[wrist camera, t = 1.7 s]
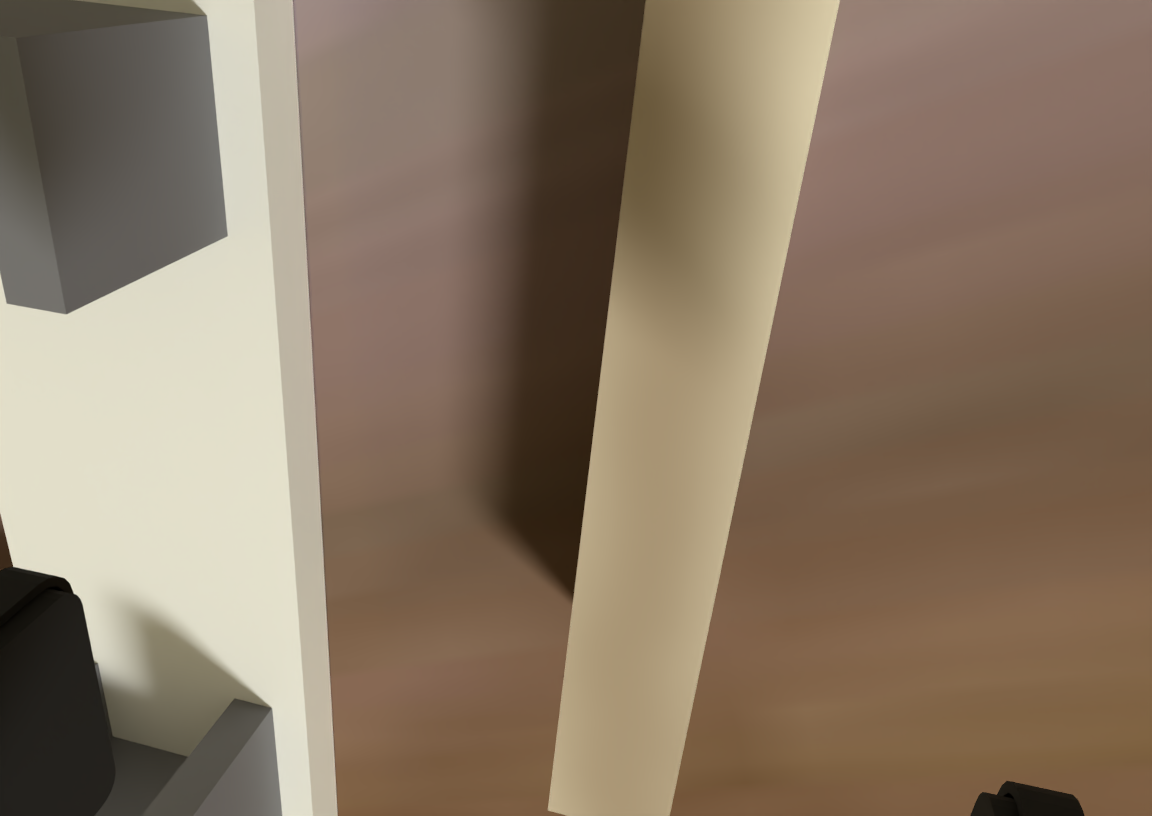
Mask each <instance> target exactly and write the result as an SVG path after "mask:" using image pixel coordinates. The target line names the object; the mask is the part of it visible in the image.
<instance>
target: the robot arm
mask: <svg viewBox="0 0 1152 816" xmlns="http://www.w3.org/2000/svg"><path fill="white" fill-rule="evenodd" d="M115 775H116V771H115V763H114V758H113V753H112V748H111V743H110V738H109V733H108V728H107V723H106V718H105V713H104V708H103V703H102V698H101V693H100V688H99V683H98V678H97V673H96V668H95V663H94V658H93V653H92V648H91V643H90V638H89V633H88V628H87V623H86V619H85V614H84V609H83V604H82V602H81V599H80V598H79V597H78V596H77V595H76V594H74V593H73V590H72V587H71V585H70V583H69V582H68V581H67V580H66V579H65V578H62V577H58V576H54V575H49V574H44V573H40V572H35V571H31V570H26V569H21V568H17V567H10V568H5V569H3V570H1V571H0V816H95V814H96V813H97V812H98V811H99V810H100V808H101V807H102V806H103V804H104V803H105V801H106V800H107V798H108V796H109V794H110V792H111V790H112V787H113V784H114V781H115ZM971 816H1084V813H1083V810H1082V808H1081V806H1080V803H1079V801H1078V800H1077V799H1076V798H1075V797H1074V796H1073V795H1071V794H1067V793H1062V792H1057V791H1053V790H1048V789H1043V788H1039V787H1034V786H1029V785H1025V784H1020V783H1015V782H1010V781H1007V782H1005V783H1004V784H1003V785H1002V786H1001V788H1000V790H999V792H998V794H997V795H994V794H990V793H985V792H982V793H981V794H980V795H979V797H978V799H977V801H976V803H975V806H974V808H973V811H972V813H971Z"/></svg>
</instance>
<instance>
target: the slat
mask: <svg viewBox="0 0 1152 816" xmlns="http://www.w3.org/2000/svg"><path fill="white" fill-rule="evenodd" d="M839 1H840V0H646V2H645V10H644V18H643V27H642V35H641V43H640V51H639V60H638V68H637V76H636V85H635V93H634V101H633V109H632V118H631V126H630V134H629V143H628V151H627V159H626V167H625V176H624V184H623V192H622V201H621V209H620V217H619V225H618V234H617V242H616V250H615V259H614V267H613V275H612V283H611V292H610V300H609V308H608V316H607V325H606V333H605V341H604V350H603V358H602V366H601V374H600V383H599V391H598V399H597V408H596V416H595V424H594V432H593V441H592V449H591V457H590V466H589V474H588V482H587V490H586V499H585V507H584V515H583V523H582V532H581V540H580V548H579V557H578V565H577V573H576V581H575V590H574V598H573V606H572V615H571V623H570V631H569V639H568V648H567V656H566V664H565V673H564V681H563V689H562V697H561V706H560V714H559V722H558V730H557V739H556V747H555V755H554V764H553V772H552V780H551V788H550V797H549V805H548V810H549V811H553V812H556V813H560V814H563V815H567V816H670V811H671V806H672V801H673V797H674V792H675V787H676V782H677V777H678V773H679V768H680V763H681V758H682V753H683V749H684V744H685V739H686V734H687V729H688V725H689V720H690V715H691V710H692V706H693V701H694V696H695V691H696V686H697V682H698V677H699V672H700V667H701V662H702V658H703V653H704V648H705V643H706V638H707V634H708V629H709V624H710V619H711V614H712V610H713V605H714V600H715V595H716V591H717V586H718V581H719V576H720V571H721V567H722V562H723V557H724V552H725V547H726V543H727V538H728V533H729V528H730V523H731V519H732V514H733V509H734V504H735V500H736V495H737V490H738V485H739V480H740V476H741V471H742V466H743V461H744V456H745V452H746V447H747V442H748V437H749V432H750V428H751V423H752V418H753V413H754V409H755V404H756V399H757V394H758V389H759V385H760V380H761V375H762V370H763V365H764V361H765V356H766V351H767V346H768V341H769V337H770V332H771V327H772V322H773V317H774V313H775V308H776V303H777V298H778V294H779V289H780V284H781V279H782V274H783V270H784V265H785V260H786V255H787V250H788V246H789V241H790V236H791V231H792V226H793V222H794V217H795V212H796V207H797V203H798V198H799V193H800V188H801V183H802V179H803V174H804V169H805V164H806V159H807V155H808V150H809V145H810V140H811V135H812V131H813V126H814V121H815V116H816V111H817V107H818V102H819V97H820V92H821V88H822V83H823V78H824V73H825V68H826V64H827V59H828V54H829V49H830V44H831V40H832V35H833V30H834V25H835V20H836V16H837V11H838V6H839Z"/></svg>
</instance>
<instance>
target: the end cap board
mask: <svg viewBox="0 0 1152 816" xmlns="http://www.w3.org/2000/svg"><path fill="white" fill-rule="evenodd" d="M0 514H1V518H2V522H3V526H4V530H5V534H6V538H7V543H8V547H9V551H10V555H11V559H12V563H13V567H17V568H21V569H26V570H31V571H35V572H40V573H44V574H49V575H54V576H58V577H62V578H65V579H66V580H67V581H68V582H69V583H70V585H71V587H72V590H73V593H74V594H76V595H77V596H78V597H79V598H80V599H81V602H82V604H83V609H84V614H85V619H86V623H87V628H88V633H89V638H90V643H91V648H92V653H93V658H94V663H95V668H96V673H97V678H98V683H99V688H100V693H101V698H102V703H103V708H104V713H105V718H106V723H107V728H108V733H109V738H110V743H111V748H112V753H113V758H114V763H115V771H116V775H115V781H114V784H113V787H112V790H111V792H110V794H109V796H108V798H107V800H106V801H105V803H104V804H103V806H102V807H101V808H100V810H99V811H98V812H97V813H96V814H95V816H338V814H337V796H336V778H335V760H334V742H333V724H332V705H331V687H330V669H329V651H328V633H327V615H326V596H325V578H324V560H323V542H322V524H321V506H320V487H319V469H318V451H317V433H316V415H315V397H314V379H313V360H312V342H311V324H310V306H309V288H308V270H307V251H306V233H305V215H304V197H303V179H302V161H301V142H300V124H299V106H298V88H297V70H296V52H295V34H294V15H293V0H0Z"/></svg>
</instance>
